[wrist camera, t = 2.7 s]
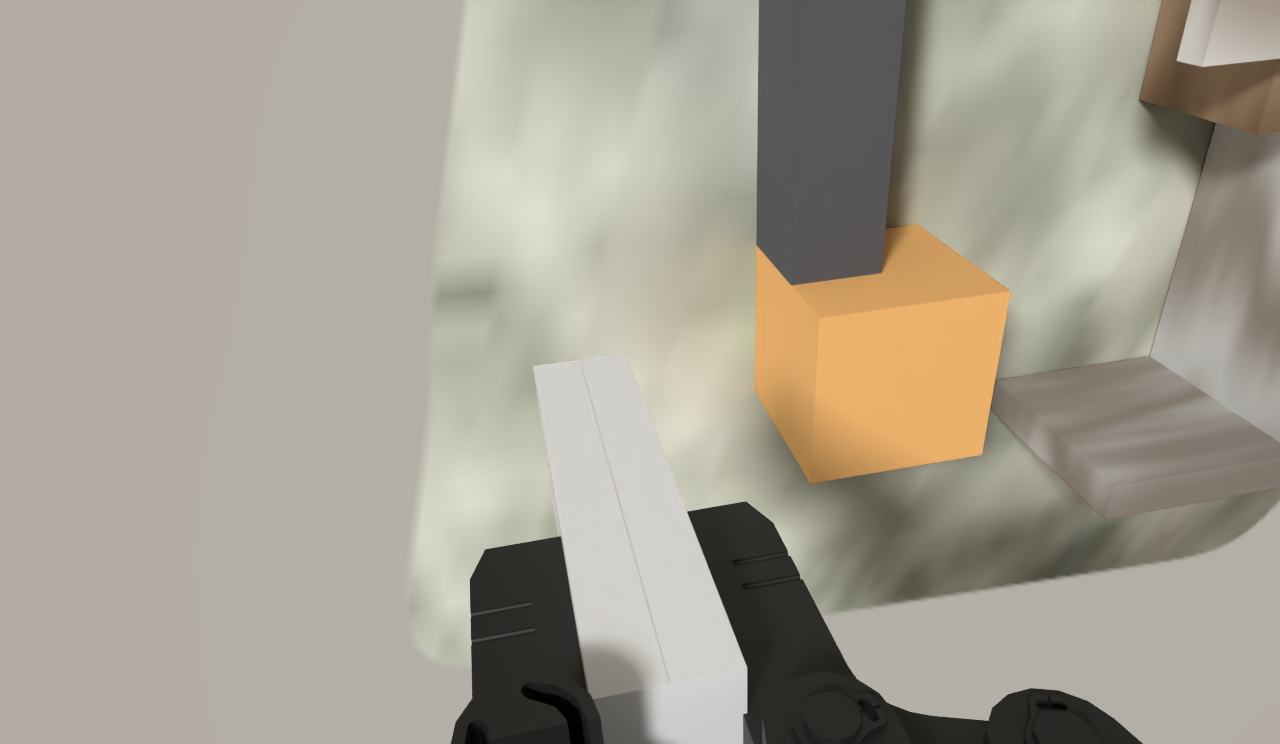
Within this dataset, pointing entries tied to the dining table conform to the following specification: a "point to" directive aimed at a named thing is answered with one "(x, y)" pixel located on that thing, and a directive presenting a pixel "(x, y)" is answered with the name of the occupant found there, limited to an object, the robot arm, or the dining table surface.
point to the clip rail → (1189, 299)
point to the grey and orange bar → (857, 261)
